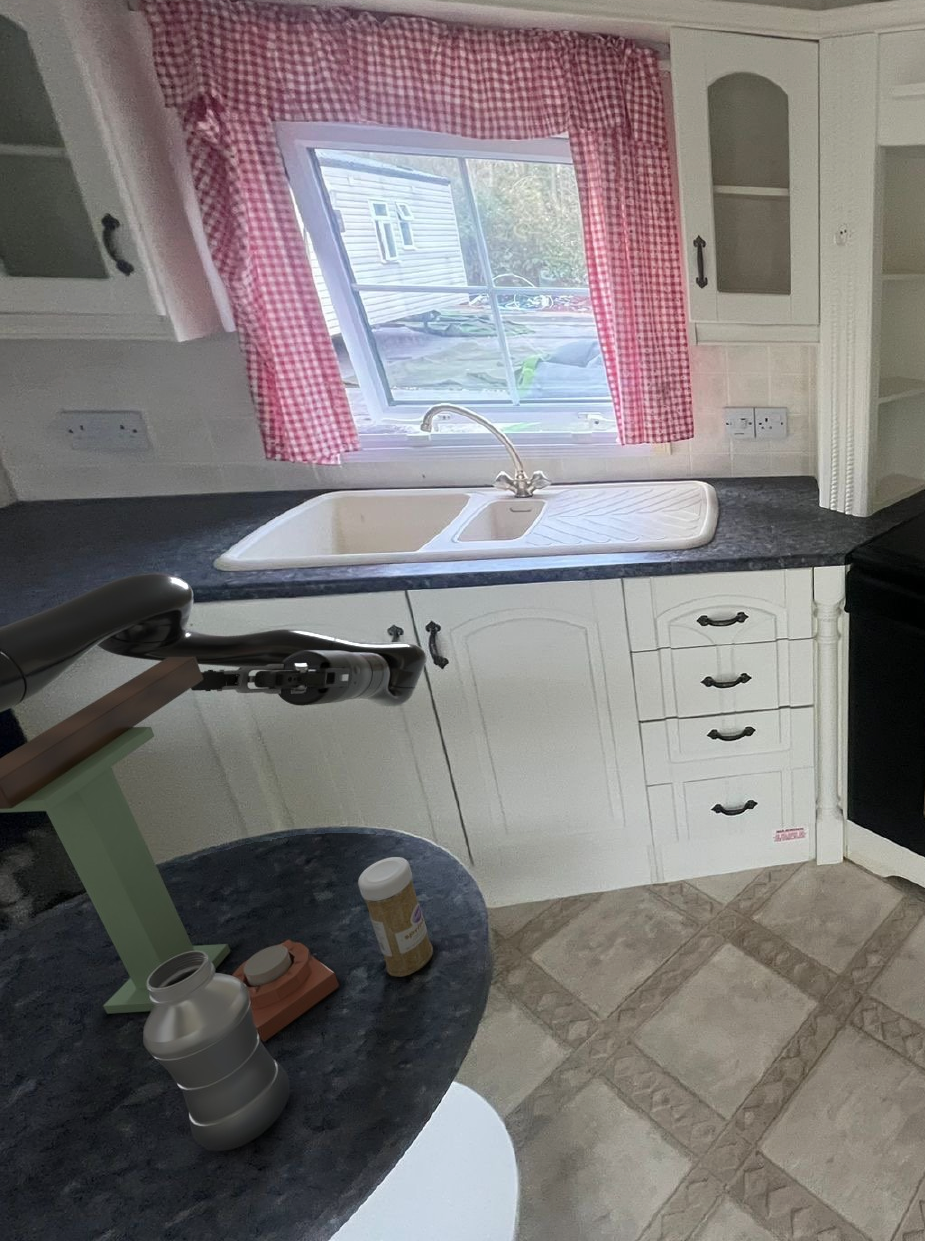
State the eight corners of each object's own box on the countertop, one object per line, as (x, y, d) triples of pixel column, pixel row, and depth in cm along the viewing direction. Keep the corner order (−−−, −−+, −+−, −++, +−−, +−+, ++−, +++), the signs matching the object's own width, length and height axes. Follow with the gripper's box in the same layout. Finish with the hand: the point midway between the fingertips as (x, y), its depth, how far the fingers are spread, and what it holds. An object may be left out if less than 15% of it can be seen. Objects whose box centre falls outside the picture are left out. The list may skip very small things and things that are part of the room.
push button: (240, 977, 78) (235, 966, 77) (280, 951, 81) (276, 939, 80) (259, 992, 76) (254, 980, 76) (299, 965, 79) (294, 953, 79)
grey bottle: (309, 1108, 70) (245, 957, 62) (217, 1179, 64) (136, 1022, 57) (278, 1071, 73) (214, 922, 65) (188, 1136, 67) (106, 981, 60)
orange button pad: (218, 1003, 79) (206, 977, 77) (294, 952, 85) (284, 927, 83) (264, 1042, 75) (252, 1015, 74) (339, 986, 81) (330, 960, 80)
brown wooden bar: (176, 679, 83) (167, 656, 82) (204, 679, 83) (195, 656, 82) (-25, 810, 64) (-41, 782, 63) (11, 808, 64) (-3, 781, 63)
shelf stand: (178, 939, 86) (80, 728, 75) (244, 936, 86) (156, 726, 75) (88, 1032, 75) (-40, 803, 64) (164, 1027, 76) (50, 800, 65)
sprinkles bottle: (431, 969, 83) (405, 879, 78) (383, 984, 82) (352, 893, 76) (435, 937, 87) (411, 850, 82) (389, 951, 85) (361, 862, 80)
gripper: (376, 702, 105) (293, 710, 89) (268, 704, 104) (163, 713, 88) (381, 649, 106) (299, 648, 90) (274, 651, 105) (172, 650, 89)
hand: (233, 680), depth 89 cm, fingers open, 8 cm apart
